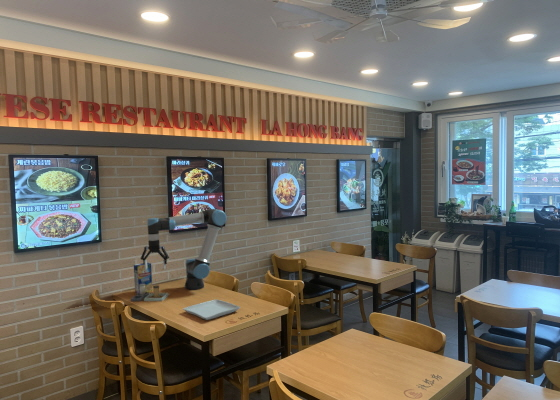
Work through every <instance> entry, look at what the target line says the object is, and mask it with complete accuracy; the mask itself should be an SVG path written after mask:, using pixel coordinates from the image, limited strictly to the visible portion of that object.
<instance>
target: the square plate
mask: <svg viewBox="0 0 560 400" xmlns="http://www.w3.org/2000/svg"><path fill="white" fill-rule="evenodd" d="M240 308H241V306H239V305H237V304H233V303H231V302H227V301H224V300H220V299H217V298H216V299H213V300H208V301H203V302H201V303H196V304H193V305H189V306H186V307H184V308H183V307H182V310H184V311H185V312H186V313H188V314H191V315H194V316H196V317H199V318H201V319H203V320H206V321H208V320H212V319H217V318H220V317H223V316H225V315H228V314H231V313H235V312H236V311H238V310H240Z"/></svg>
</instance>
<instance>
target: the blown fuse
mask: <svg viewBox="0 0 560 400" xmlns="http://www.w3.org/2000/svg"><path fill="white" fill-rule="evenodd" d="M152 293H153V295H154V296H153V298H160V296H159V293H160V285H159V284H158V285H152Z"/></svg>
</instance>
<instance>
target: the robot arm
mask: <svg viewBox="0 0 560 400" xmlns="http://www.w3.org/2000/svg"><path fill="white" fill-rule="evenodd" d="M227 218H228V217H227V214H226V213H225V212H224V211H223V210H221V209H214V208H211V209H207V210H201V211H199V212H198V213H197V212H196V213H190V214H184V215H183V214H182V215H175V216H169V217H164V218H163V217H161V218H158V217H151V218H150V217H149V218H148V219H147V224H146V226H147V239H148V246H144V248H143V251H142V254H141V257H140V260H142V261H143V262H142V263H143V264H144V265H145V269H147V263H148V260H147V258H148V257H149V256H150V255H151V254H154V253H155V254H156V253H158V255H159V256H160V257H161V258H162V259H163V260H162V262H163V263H162V267H163V270H166V269H167V268H166V266H167V264H168V263H167V262H168V261H167V260H168V259H169V258H170V257H169V254H168V253H167V251H166V249H165V246H164V245H161V244H160V243H161V242H160V232H162V231H172V230H173V231H174V230H175V229H176V227H180V226H185V225H193V224H198V223H201V224H206V225H207V229H206V233H205V235H204V239H203V241H202V245H201V247H200V250H199V254H198V256H197V257H194V258H188V259H186V261H185V271H186V273H185V274H186V280H185V284H184V289H185V290H187V291H188V290H189V291H194V290H195V291H196V290H200V289H203V288H204V287H205V283H204V280H203V279H206V278H207V277H208V276H209V274H210V272H211V271H210V269H211V268H210V264H211V261H210V258H211V255H212V252H213V249H214V246H215V243H216V240H217V237H218V234H219V231H220V230H221V229H222V227H223V226H224V225H225V224H226V222H227V220H228V219H227ZM160 245H161V246H160ZM147 251H148V252H147Z"/></svg>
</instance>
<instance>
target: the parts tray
mask: <svg viewBox="0 0 560 400" xmlns="http://www.w3.org/2000/svg"><path fill="white" fill-rule="evenodd" d="M168 297H169V292H159V298H154V295H153V292H151V293H150V292H149V295H148V296H146V297H145V298H144V299H143V302H163V301H164V300H165V299H166V298H168Z"/></svg>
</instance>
